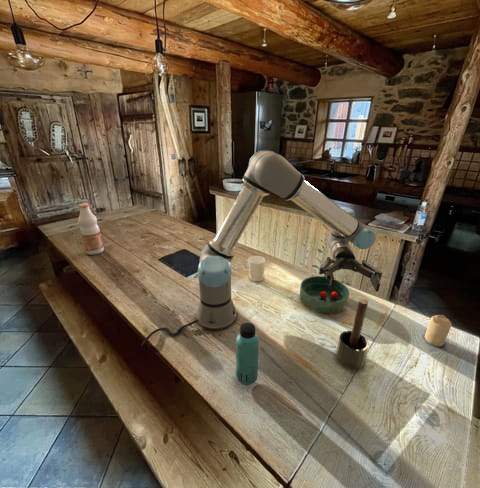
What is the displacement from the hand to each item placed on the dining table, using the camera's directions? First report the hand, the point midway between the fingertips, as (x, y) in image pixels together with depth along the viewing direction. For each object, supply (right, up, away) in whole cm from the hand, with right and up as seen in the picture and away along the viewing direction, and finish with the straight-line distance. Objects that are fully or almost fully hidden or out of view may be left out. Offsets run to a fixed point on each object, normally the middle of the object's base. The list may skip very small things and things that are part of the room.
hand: (355, 285), depth 84 cm
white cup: (-29, -4, +45) cm, 53 cm away
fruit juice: (-120, +20, +65) cm, 138 cm away
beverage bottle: (-34, -27, -6) cm, 44 cm away
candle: (+31, -20, +8) cm, 38 cm away
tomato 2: (+3, -9, +28) cm, 30 cm away
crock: (-2, -23, 0) cm, 24 cm away
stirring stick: (-1, -23, 0) cm, 23 cm away
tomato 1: (-1, -9, +28) cm, 29 cm away
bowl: (-1, -11, +29) cm, 31 cm away
